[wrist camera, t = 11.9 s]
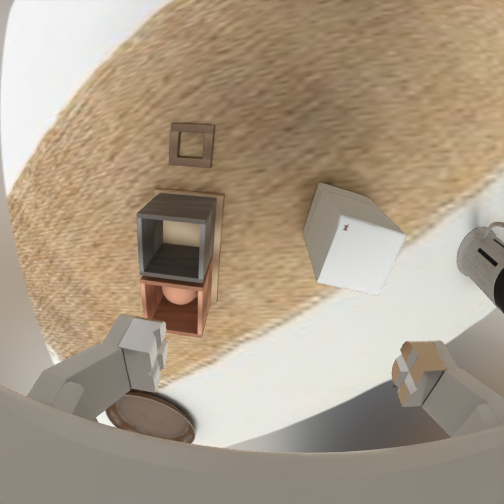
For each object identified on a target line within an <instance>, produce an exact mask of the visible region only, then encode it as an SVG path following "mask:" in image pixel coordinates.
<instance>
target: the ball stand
mask: <svg viewBox="0 0 504 504" xmlns="http://www.w3.org/2000/svg"><path fill="white" fill-rule="evenodd" d="M214 129H215V125H205V124H186V123H171V131H170V148H169V165H177V166H191V167H204V168H211V166H212V153H213V141H214ZM180 132H192V133H204V146H203V158H197V157H182V156H179V147H180Z"/></svg>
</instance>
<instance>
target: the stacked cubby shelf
mask: <svg viewBox="0 0 504 504" xmlns="http://www.w3.org/2000/svg"><path fill="white" fill-rule="evenodd" d="M223 206H224V194H217V193H207V192H196V191H184V190H172V189H159V188H156V189H155V190H154V198H153V199H152V200H151V201H150V202H149V203H148V204H147V205H146V206H144V207H143V208H142V209H141V210H140V211H139V212H138V213H137V234H138V254H139V270H140V275H143V276H142V278H141V279H140V283H141V295H142V305H143V315H144V318H149V319H154V320H160V321H164V322H165V323H166V333H172V334H179V335H186V336H193V337H200V338H202V334H203V330H204V326H205V322H206V319H207V315H208V311H209V307H210V304H216V303H217V294H218V277H219V262H220V247H221V233H222V219H223ZM162 286H164V287H171V288H178V289H186V290H194V291H198V293H197V295H196V297H195V298H194V299H193V300H192V301H191V302H189V303H187V304H183V305H179V304H174V303H172V302H170V301H169V300H168V299H167V298H166V297H165V295H164V293H163V291H162Z"/></svg>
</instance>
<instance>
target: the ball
mask: <svg viewBox="0 0 504 504" xmlns="http://www.w3.org/2000/svg"><path fill="white" fill-rule="evenodd" d="M162 291H163V293H164V295H165V297H166V298H167V299H168V300H169V301H170V302H172V303H174V304H179V305H183V304H187V303H189V302H191V301H192V300H193V299H194V298H195V297H196V295H197V293H198V291H194V290H186V289H178V288H171V287H164V286H162Z"/></svg>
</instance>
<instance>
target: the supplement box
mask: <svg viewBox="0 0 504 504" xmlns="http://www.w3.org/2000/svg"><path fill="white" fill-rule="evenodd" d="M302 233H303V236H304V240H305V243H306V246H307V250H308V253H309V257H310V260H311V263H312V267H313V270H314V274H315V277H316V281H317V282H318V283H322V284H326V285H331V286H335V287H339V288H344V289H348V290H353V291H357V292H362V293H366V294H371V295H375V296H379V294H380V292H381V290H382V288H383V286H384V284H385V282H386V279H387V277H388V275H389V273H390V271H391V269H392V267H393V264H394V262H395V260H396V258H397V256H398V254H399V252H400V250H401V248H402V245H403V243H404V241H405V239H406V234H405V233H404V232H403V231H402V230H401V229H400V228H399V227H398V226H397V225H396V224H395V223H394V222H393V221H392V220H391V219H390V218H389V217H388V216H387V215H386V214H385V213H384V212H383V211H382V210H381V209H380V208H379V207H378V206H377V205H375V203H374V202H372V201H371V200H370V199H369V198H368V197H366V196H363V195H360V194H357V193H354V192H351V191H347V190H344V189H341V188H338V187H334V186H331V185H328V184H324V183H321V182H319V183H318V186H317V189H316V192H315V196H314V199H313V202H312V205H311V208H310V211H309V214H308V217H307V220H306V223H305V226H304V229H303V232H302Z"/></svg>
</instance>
